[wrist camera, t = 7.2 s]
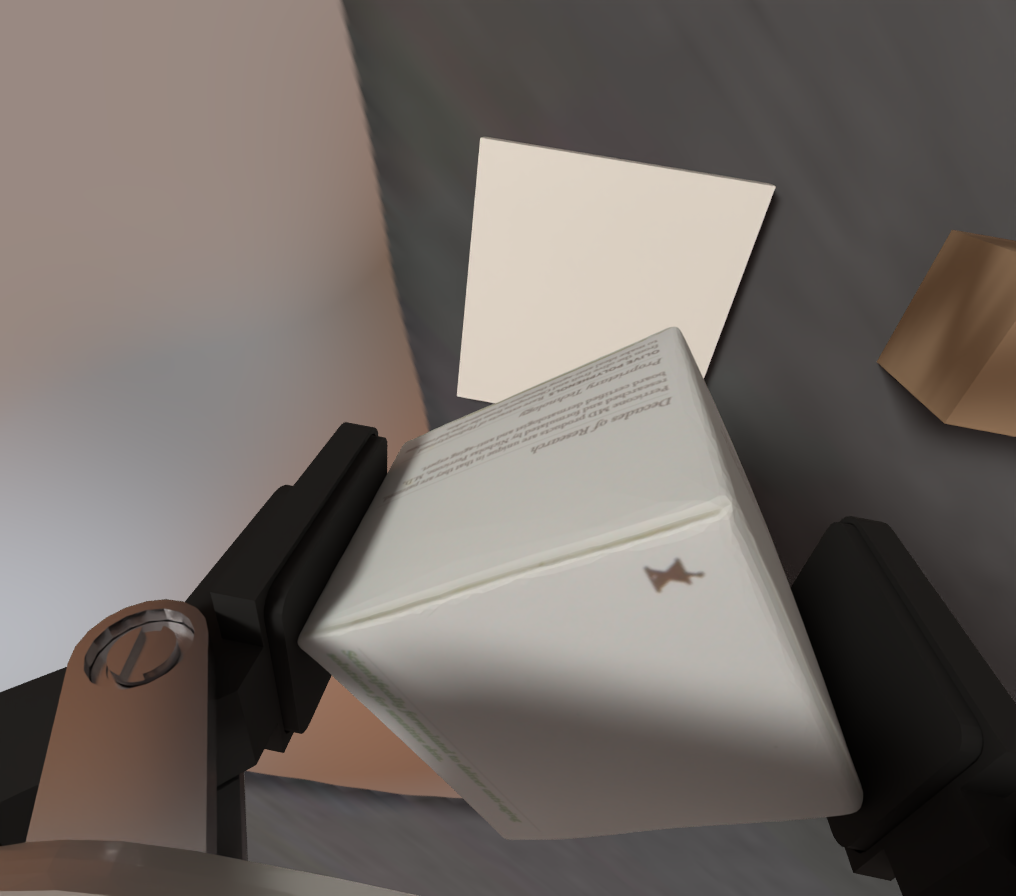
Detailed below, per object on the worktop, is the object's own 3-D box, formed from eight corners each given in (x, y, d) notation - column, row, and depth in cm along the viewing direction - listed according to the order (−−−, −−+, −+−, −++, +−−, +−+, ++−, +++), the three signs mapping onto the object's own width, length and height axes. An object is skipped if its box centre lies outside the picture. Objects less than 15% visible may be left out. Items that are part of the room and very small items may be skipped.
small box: (396, 437, 11) (273, 647, 6) (680, 310, 9) (761, 499, 4) (530, 620, 13) (502, 858, 9) (777, 555, 11) (889, 825, 7)
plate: (484, 136, 19) (480, 137, 18) (769, 183, 18) (775, 186, 18) (460, 388, 24) (456, 396, 24) (679, 428, 24) (681, 437, 23)
